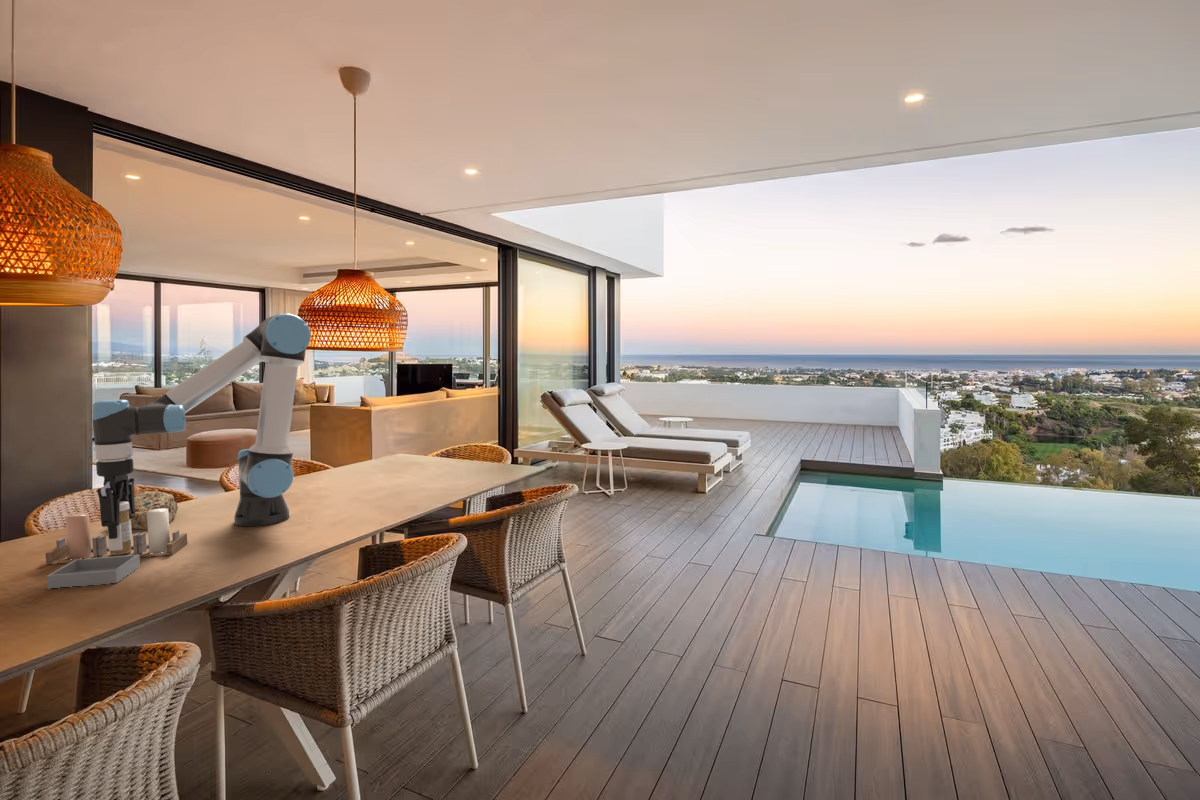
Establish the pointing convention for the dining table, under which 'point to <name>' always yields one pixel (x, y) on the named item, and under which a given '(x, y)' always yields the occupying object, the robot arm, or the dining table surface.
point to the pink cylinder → (78, 535)
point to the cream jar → (158, 530)
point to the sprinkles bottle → (124, 529)
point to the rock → (152, 507)
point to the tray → (93, 571)
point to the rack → (101, 547)
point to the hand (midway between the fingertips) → (121, 546)
